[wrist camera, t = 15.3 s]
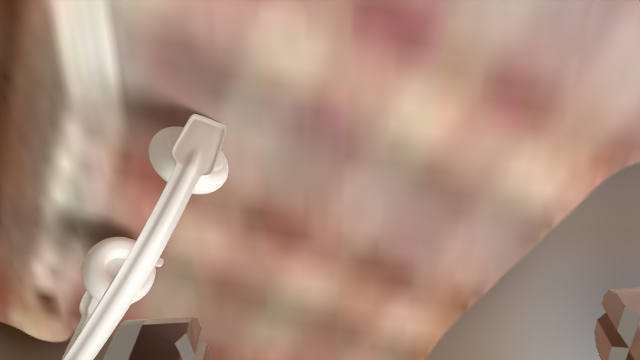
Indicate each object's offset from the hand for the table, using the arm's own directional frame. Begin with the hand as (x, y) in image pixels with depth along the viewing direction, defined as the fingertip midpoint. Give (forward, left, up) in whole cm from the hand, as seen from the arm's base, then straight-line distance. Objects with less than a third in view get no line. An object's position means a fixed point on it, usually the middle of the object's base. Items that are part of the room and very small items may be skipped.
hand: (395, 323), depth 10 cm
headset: (+19, +17, -33) cm, 42 cm away
